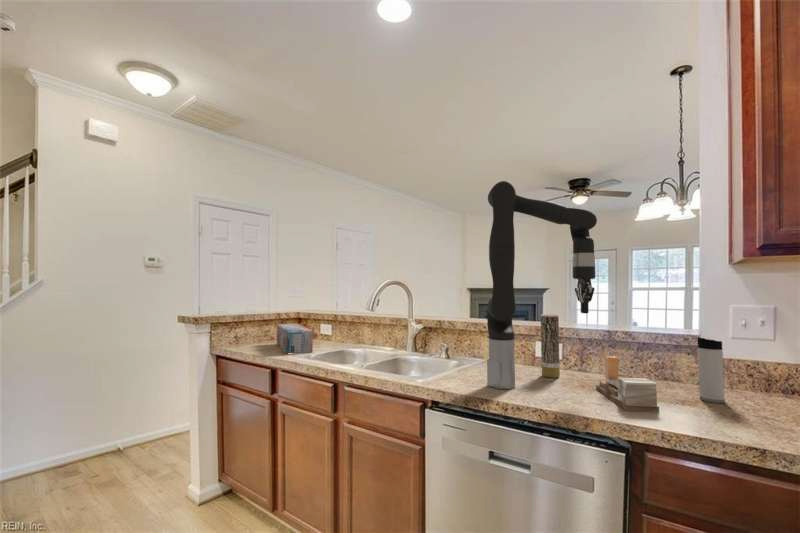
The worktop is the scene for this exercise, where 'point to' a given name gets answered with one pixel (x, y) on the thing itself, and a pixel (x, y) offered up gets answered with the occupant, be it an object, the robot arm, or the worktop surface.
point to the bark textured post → (550, 345)
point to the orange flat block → (611, 371)
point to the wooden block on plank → (632, 394)
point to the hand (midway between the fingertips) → (584, 313)
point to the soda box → (295, 338)
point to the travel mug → (711, 370)
